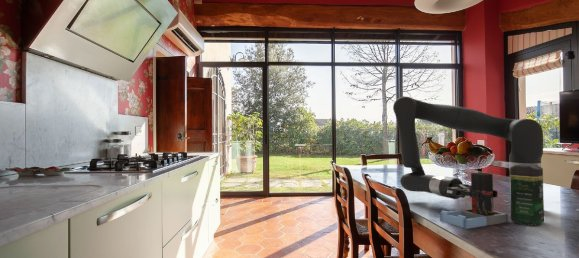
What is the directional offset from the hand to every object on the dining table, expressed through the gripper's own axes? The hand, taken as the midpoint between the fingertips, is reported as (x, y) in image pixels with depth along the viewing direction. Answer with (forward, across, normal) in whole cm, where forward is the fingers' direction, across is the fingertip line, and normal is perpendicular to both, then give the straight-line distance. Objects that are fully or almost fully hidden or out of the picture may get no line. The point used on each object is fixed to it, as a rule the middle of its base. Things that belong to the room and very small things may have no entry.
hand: (489, 194), depth 95 cm
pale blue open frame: (-2, -4, +8) cm, 10 cm away
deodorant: (-2, 0, +9) cm, 9 cm away
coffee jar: (+5, +10, +9) cm, 14 cm away
